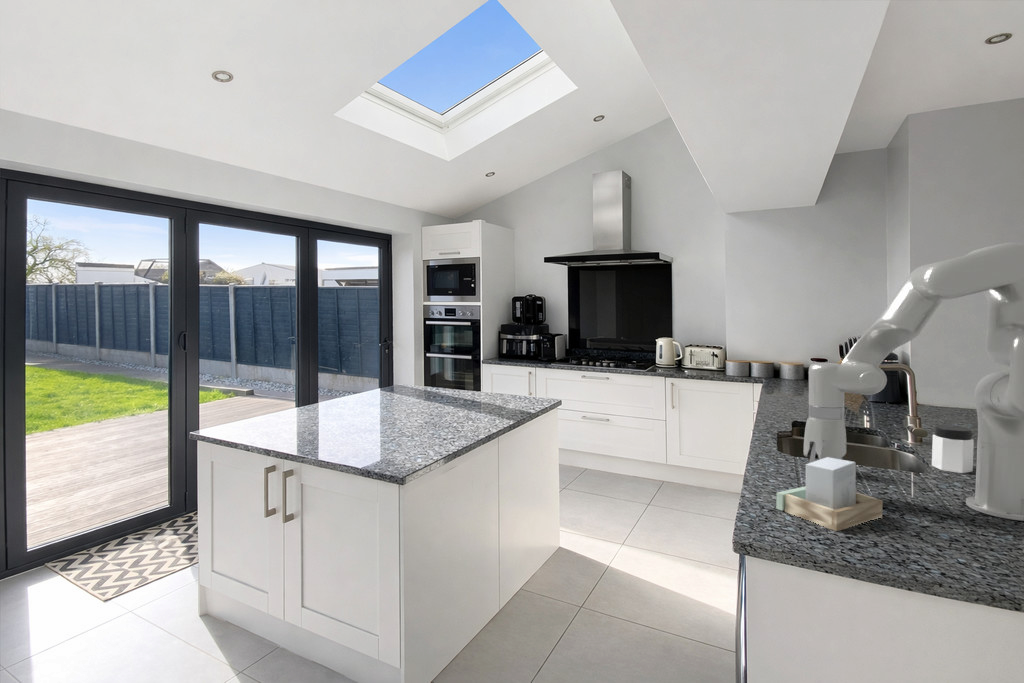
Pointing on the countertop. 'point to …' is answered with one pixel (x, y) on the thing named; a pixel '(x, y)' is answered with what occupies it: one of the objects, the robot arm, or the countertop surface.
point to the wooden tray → (835, 511)
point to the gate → (795, 492)
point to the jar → (952, 449)
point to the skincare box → (831, 483)
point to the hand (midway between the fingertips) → (826, 485)
